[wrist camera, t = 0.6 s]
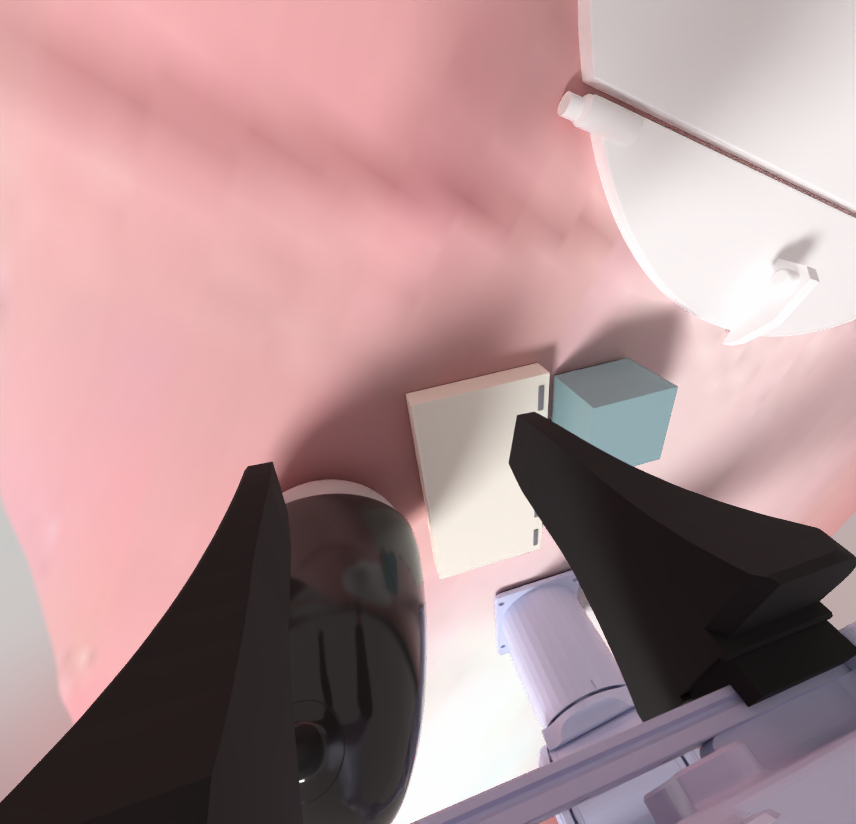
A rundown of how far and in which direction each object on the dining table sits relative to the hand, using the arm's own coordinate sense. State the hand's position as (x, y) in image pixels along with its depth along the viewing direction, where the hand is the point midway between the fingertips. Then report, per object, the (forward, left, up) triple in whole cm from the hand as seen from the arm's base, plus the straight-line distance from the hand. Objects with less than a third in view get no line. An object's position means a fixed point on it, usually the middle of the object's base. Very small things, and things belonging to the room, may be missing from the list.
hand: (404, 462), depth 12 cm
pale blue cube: (-7, -13, -10) cm, 18 cm away
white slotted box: (-11, -6, -10) cm, 16 cm away
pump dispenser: (-11, +5, -10) cm, 16 cm away
